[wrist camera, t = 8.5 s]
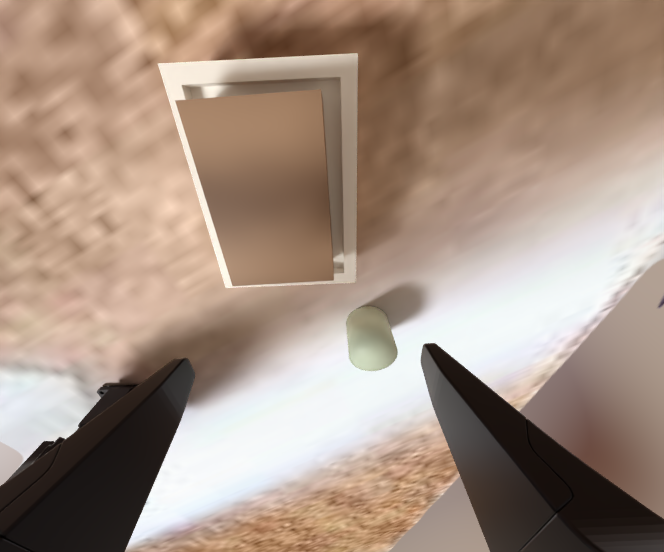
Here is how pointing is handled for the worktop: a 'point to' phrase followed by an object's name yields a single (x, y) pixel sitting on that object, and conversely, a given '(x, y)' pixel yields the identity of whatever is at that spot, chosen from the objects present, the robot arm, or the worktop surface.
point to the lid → (265, 183)
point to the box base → (339, 118)
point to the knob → (370, 339)
